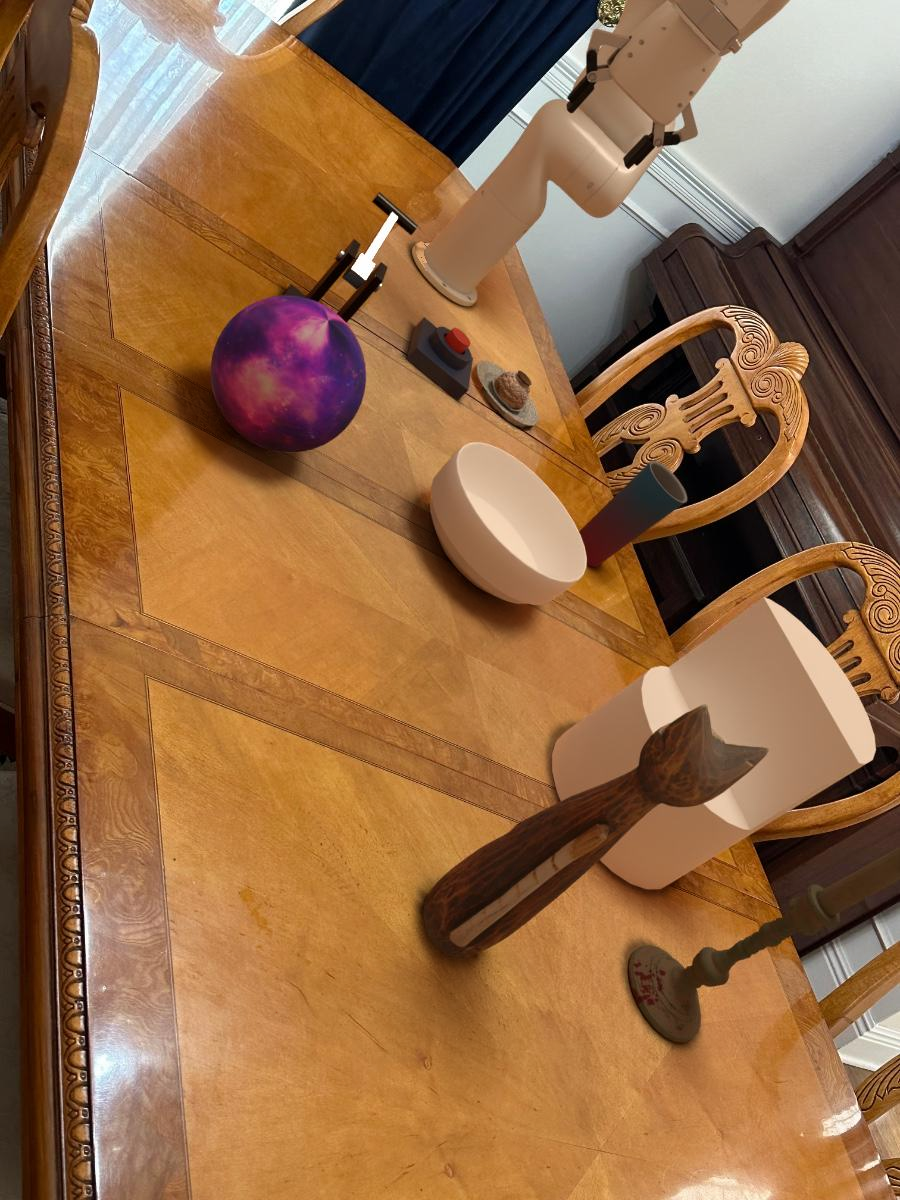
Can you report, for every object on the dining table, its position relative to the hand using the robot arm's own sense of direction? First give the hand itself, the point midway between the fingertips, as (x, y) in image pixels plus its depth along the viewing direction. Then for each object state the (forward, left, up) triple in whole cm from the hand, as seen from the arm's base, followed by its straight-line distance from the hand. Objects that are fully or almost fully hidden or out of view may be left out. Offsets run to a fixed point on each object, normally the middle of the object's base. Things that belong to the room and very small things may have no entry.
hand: (597, 137), depth 141 cm
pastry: (-4, +16, -36) cm, 39 cm away
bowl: (+38, +14, -36) cm, 54 cm away
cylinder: (+62, +36, -36) cm, 80 cm away
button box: (+2, +4, -35) cm, 36 cm away
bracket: (+19, -14, -35) cm, 42 cm away
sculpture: (+88, +16, -36) cm, 96 cm away
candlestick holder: (+82, +41, -36) cm, 98 cm away
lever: (+14, -14, -24) cm, 31 cm away
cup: (+19, +32, -36) cm, 52 cm away
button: (+2, +4, -32) cm, 32 cm away
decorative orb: (+45, -16, -36) cm, 59 cm away
